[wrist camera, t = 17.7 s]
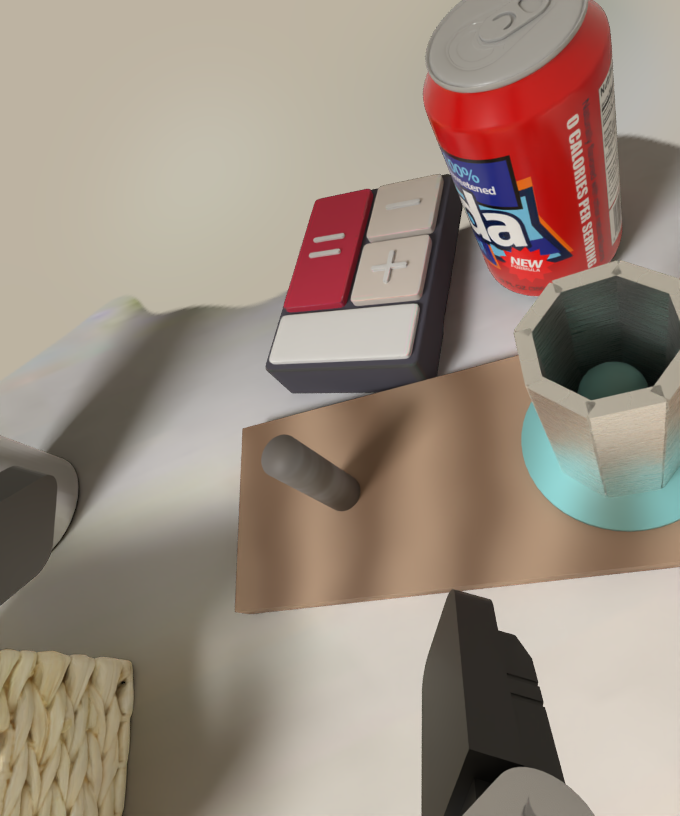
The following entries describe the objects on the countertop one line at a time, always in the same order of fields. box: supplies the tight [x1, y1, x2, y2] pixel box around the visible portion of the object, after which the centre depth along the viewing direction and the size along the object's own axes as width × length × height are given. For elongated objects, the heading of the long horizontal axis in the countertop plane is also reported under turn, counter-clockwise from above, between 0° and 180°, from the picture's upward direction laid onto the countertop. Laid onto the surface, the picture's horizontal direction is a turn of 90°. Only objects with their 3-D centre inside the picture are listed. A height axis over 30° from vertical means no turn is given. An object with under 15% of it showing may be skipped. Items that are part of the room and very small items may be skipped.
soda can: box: [423, 0, 622, 296], centre depth 29 cm, size 8×8×15 cm
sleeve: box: [514, 260, 680, 498], centre depth 23 cm, size 6×6×10 cm
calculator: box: [266, 174, 463, 393], centre depth 39 cm, size 11×4×15 cm
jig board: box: [235, 355, 680, 614], centre depth 28 cm, size 30×12×8 cm, turn 93°
